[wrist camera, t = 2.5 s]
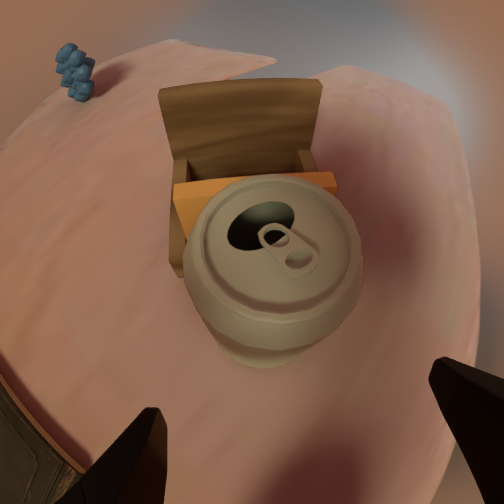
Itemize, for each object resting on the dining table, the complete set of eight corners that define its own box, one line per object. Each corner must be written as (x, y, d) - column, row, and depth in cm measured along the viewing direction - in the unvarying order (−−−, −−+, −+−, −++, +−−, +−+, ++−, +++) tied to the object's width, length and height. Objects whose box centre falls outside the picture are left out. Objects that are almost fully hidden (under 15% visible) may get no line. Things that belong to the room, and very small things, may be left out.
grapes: (120, 92, 36) (103, 30, 26) (87, 115, 34) (62, 51, 23) (90, 83, 39) (73, 32, 29) (61, 103, 37) (40, 52, 26)
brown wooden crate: (331, 261, 23) (375, 179, 14) (178, 277, 22) (136, 199, 13) (302, 163, 28) (318, 79, 19) (180, 173, 27) (159, 88, 18)
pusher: (312, 251, 23) (337, 186, 16) (195, 263, 22) (172, 200, 15) (309, 238, 23) (331, 171, 16) (195, 249, 23) (173, 184, 16)
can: (272, 255, 23) (291, 137, 12) (333, 328, 20) (414, 255, 10) (193, 307, 21) (139, 215, 10) (251, 390, 18) (256, 392, 7)
